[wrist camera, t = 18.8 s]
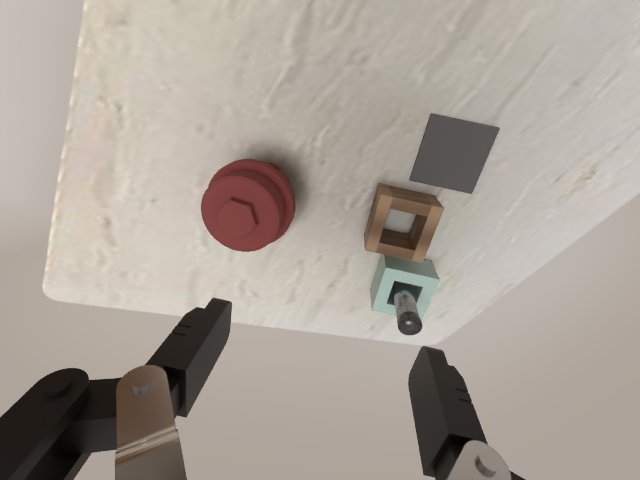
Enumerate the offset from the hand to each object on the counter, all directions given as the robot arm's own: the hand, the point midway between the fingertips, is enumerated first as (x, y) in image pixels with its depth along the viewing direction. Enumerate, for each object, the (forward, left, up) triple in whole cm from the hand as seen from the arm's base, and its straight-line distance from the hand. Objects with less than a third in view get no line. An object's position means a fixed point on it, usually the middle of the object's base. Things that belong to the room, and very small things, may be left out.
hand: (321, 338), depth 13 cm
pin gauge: (+13, +11, -30) cm, 34 cm away
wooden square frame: (+4, +8, -30) cm, 31 cm away
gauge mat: (-5, +12, -30) cm, 33 cm away
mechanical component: (+4, -10, -30) cm, 32 cm away
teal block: (+13, +11, -30) cm, 35 cm away
